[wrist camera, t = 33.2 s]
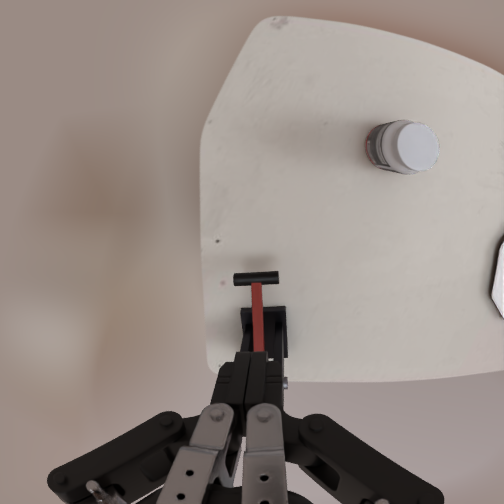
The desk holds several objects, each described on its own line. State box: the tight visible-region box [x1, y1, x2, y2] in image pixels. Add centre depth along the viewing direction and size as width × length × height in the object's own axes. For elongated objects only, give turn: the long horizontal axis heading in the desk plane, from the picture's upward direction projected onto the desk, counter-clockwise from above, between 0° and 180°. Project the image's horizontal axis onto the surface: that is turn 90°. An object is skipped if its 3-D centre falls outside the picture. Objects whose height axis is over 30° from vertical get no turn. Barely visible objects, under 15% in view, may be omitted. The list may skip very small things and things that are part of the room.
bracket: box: [240, 306, 288, 406], centre depth 36 cm, size 8×6×13 cm
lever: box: [233, 271, 279, 351], centre depth 33 cm, size 14×5×2 cm, turn 5°
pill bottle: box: [365, 120, 439, 174], centre depth 28 cm, size 6×6×10 cm
